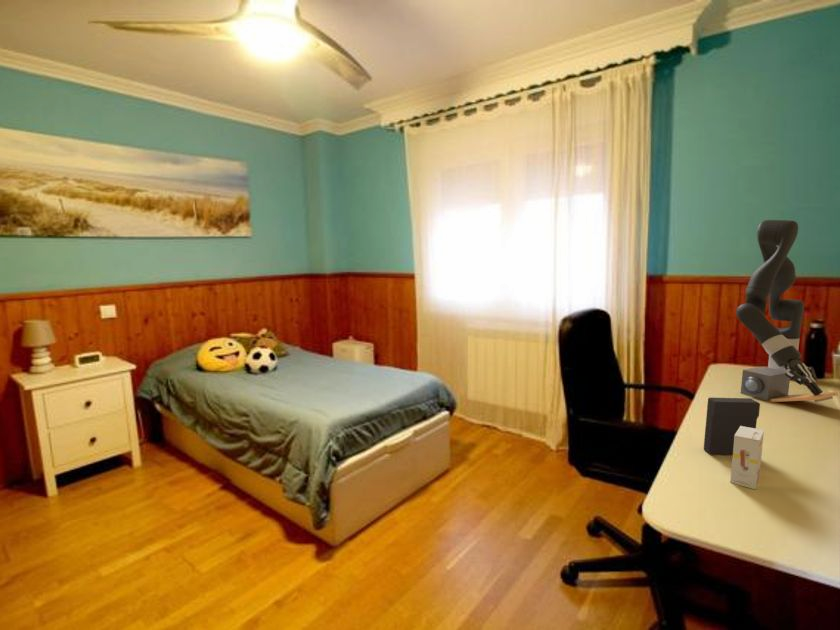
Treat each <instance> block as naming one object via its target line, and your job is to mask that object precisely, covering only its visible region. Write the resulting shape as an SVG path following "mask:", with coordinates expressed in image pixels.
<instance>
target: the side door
mask: <svg viewBox="0 0 840 630" xmlns="http://www.w3.org/2000/svg"><path fill="white" fill-rule="evenodd" d="M838 395H839V394H838V392H837V391H831V392H822V393H821V394H819V395H813V393H805V394H804V393H801V394H788V396H783V397H779V398H774V399H771V400H769V402H772V403H777V402H796V401H797V402H799V401H814V402H816V403H819V402H823V401H827V400H832V399H834V397H835V396H838Z"/></svg>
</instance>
